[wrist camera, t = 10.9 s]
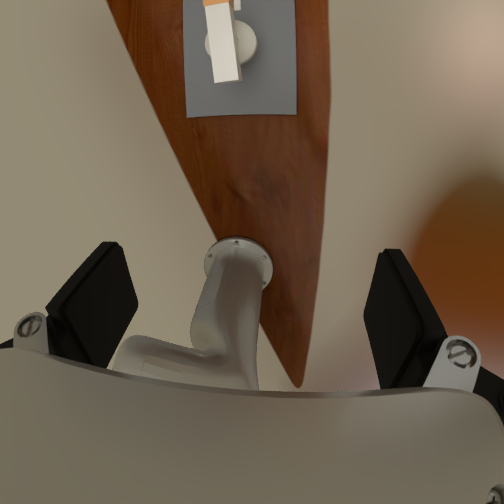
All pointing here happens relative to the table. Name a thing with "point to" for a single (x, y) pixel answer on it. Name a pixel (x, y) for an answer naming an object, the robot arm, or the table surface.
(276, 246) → the table surface
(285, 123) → the table surface
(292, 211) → the table surface
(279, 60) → the coupling base
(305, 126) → the table surface
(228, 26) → the grey and orange blocks
